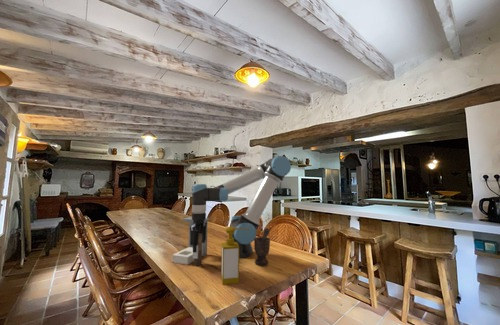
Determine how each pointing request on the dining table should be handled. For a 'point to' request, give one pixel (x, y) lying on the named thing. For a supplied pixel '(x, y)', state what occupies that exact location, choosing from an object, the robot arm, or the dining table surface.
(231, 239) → the soap bottle
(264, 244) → the mortar and pestle
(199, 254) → the walnut dowel
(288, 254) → the dining table surface
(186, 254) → the stand
